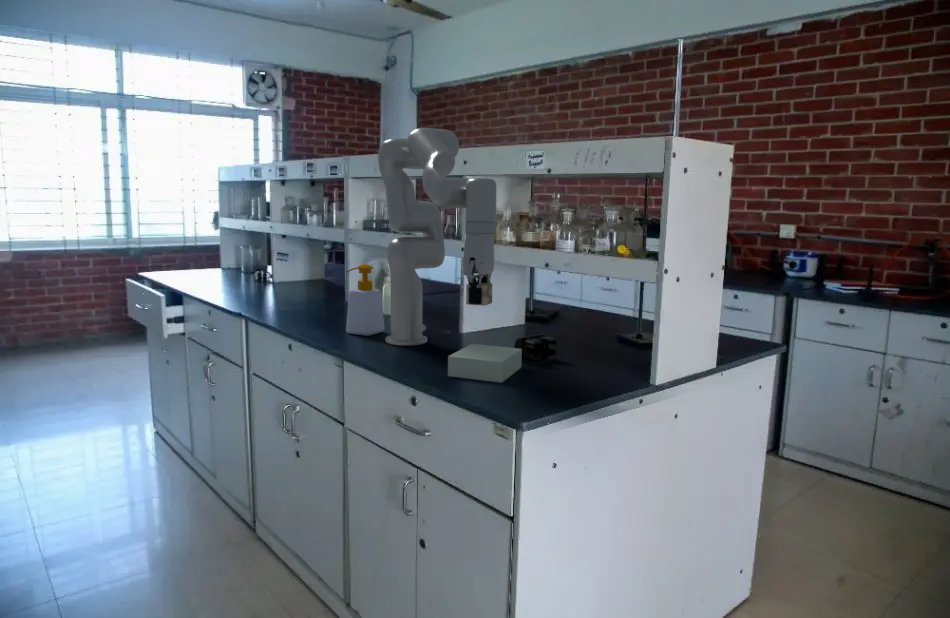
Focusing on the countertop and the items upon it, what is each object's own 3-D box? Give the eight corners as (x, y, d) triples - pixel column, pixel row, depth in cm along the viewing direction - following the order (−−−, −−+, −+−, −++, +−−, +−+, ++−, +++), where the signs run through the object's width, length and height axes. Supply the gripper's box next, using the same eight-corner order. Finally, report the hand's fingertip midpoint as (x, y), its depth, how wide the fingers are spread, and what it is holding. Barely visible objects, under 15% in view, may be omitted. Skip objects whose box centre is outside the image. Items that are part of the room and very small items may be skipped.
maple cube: (473, 301, 171) (474, 282, 170) (492, 303, 169) (492, 283, 168) (466, 304, 166) (466, 284, 166) (484, 305, 165) (485, 285, 164)
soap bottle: (335, 336, 209) (334, 265, 206) (362, 329, 222) (362, 262, 218) (359, 339, 205) (359, 267, 201) (386, 332, 217) (386, 263, 214)
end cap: (539, 355, 190) (540, 331, 189) (557, 360, 185) (558, 336, 183) (513, 360, 184) (514, 335, 183) (531, 365, 178) (532, 340, 177)
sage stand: (471, 361, 180) (471, 343, 179) (521, 367, 175) (521, 348, 174) (447, 376, 165) (448, 356, 164) (501, 382, 160) (502, 362, 160)
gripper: (478, 228, 174) (477, 297, 177) (452, 229, 158) (451, 305, 161) (506, 228, 171) (504, 299, 174) (482, 230, 156) (480, 308, 159)
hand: (479, 301), depth 168 cm, fingers closed on maple cube, 4 cm apart
